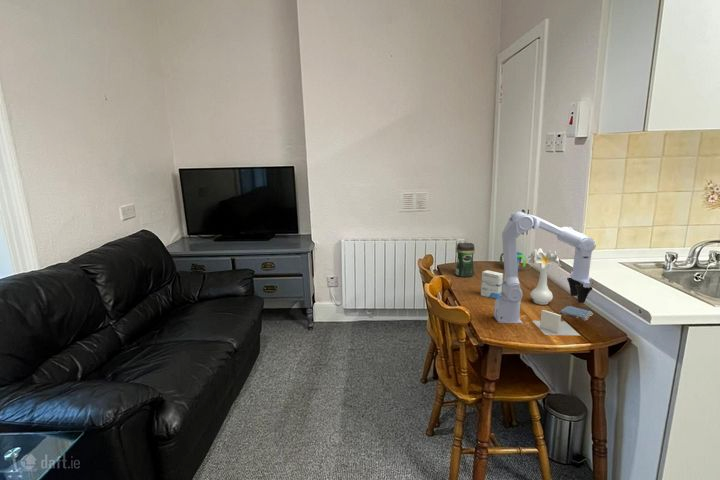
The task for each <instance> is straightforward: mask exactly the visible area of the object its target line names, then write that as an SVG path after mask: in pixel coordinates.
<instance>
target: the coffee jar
mask: <svg viewBox="0 0 720 480" xmlns="http://www.w3.org/2000/svg"><path fill="white" fill-rule="evenodd" d="M475 251H476V249H475V244H474V243H473V242H459V243H458V242H457V245H456V253H457V259H456V266H455V275H456V276H457V277H460V278H469V277H470V278H471V277H473V276H475V275H474V274H475V273H474V272H475V271H474V255H475V254H474V253H475Z"/></svg>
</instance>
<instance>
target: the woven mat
mask: <svg viewBox="0 0 720 480" xmlns="http://www.w3.org/2000/svg"><path fill="white" fill-rule="evenodd" d="M560 315H564V316H568V317H572V318H576V319H579V320H582V321H585V322H586V321H588V320H589V319H590V317H592V316H593V315H594V313H593V311H591V310H589V309H588V310H587V309H584V308H582V307H581V308H579V307H578V306H577V307H575V306H572V305H568V306H566V307H564V308H562V309H561V310H560ZM579 317H580V318H579Z"/></svg>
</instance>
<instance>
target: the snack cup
mask: <svg viewBox="0 0 720 480" xmlns="http://www.w3.org/2000/svg"><path fill="white" fill-rule="evenodd" d="M516 252H517V270H518V271H520V268H521V262H522V261H523V262H522V263H523V264H522V268H525V267H526V265H527V261H526V258H525V256H524V254H523V252H519V251H516ZM499 262H500V263H502V262H503V252H502V253H501V254H500V256H499Z"/></svg>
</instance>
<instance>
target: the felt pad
mask: <svg viewBox="0 0 720 480" xmlns="http://www.w3.org/2000/svg"><path fill="white" fill-rule="evenodd" d="M532 322H533V324H535V326H536V327H537V328H538V329H539V330H540V331H541V332H542V334H544V336H578V337H579V336H581V335H580V334H579V333H578V332H577V331H576V330H575V329H574V328H573V327H572V326H571V325H570V324H568V323H567V322H566V321H565V320H561V322H560V331H559V333H555V332H552V331H549V330H547V329H544V328H541V327H540V322H541V320H532Z"/></svg>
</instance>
